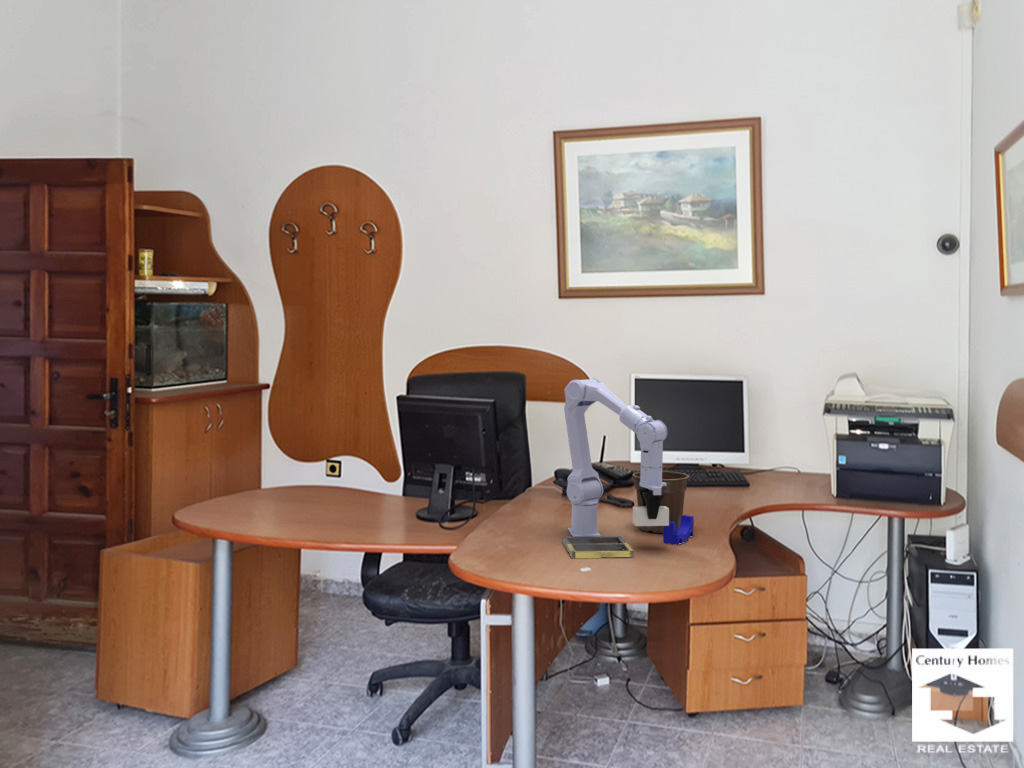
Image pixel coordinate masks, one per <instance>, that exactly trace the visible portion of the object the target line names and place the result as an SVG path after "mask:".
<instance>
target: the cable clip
mask: <svg viewBox="0 0 1024 768" xmlns="http://www.w3.org/2000/svg"><path fill="white" fill-rule="evenodd" d="M694 517H695V516H694V515H688V514H683V515H682V518H681V524H680V527H679V529H678V531H677V528H676V522H670V521H669V526H664V529H663V533H662V535H663V536H662V537H663V538H662V539H663V540H662V543H663V542H664V543H663V544H667V543H671V544H670V545H673V544H677V545H676V546H679V545H678V544H679V543H683V542H685V543H687V542H686V541H688V542H689V539H690V538H689V537H690V536H693V537H694V523H695V521H694V520H695V518H694ZM683 544H684V543H683Z"/></svg>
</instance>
